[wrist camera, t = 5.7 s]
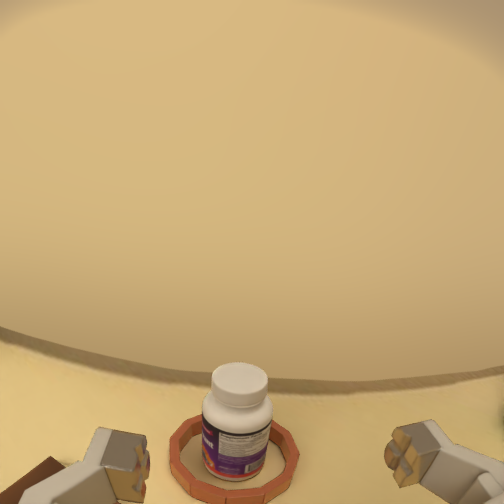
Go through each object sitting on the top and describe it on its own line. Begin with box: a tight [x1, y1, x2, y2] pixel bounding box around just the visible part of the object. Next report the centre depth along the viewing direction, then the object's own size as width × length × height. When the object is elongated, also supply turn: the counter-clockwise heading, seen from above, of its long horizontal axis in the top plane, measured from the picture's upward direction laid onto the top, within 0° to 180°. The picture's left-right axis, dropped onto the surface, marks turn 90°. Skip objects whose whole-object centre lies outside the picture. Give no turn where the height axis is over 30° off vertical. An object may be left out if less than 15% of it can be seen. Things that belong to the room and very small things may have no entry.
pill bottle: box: [202, 362, 273, 481], centre depth 22 cm, size 5×5×10 cm
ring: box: [170, 414, 300, 504], centre depth 23 cm, size 11×11×2 cm
